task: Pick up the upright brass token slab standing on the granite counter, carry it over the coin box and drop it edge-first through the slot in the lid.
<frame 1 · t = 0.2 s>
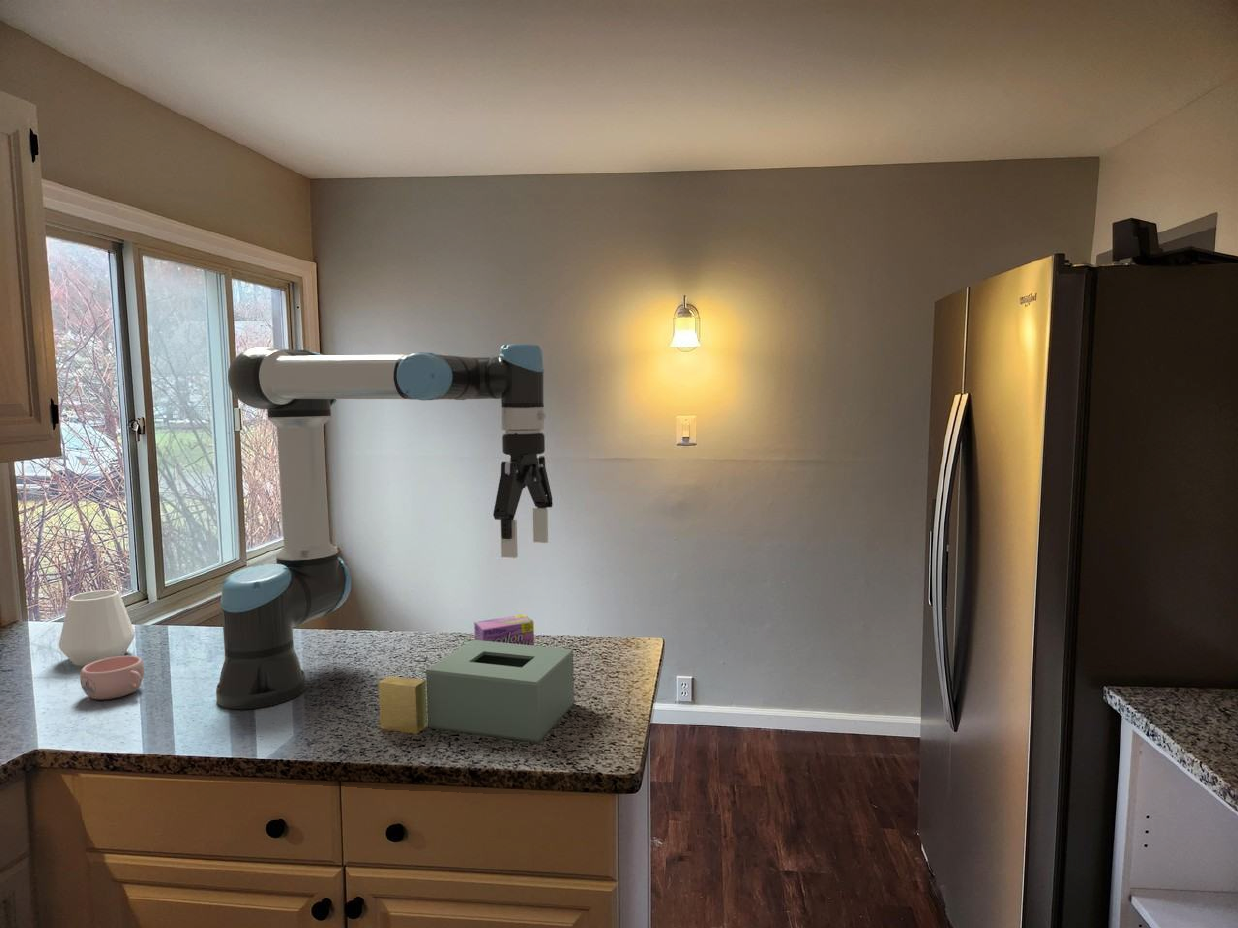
hand: (525, 549, 135), 27 cm above the counter, fingers open, 13 cm apart
box: (505, 680, 146), on the counter
cup: (99, 659, 161), on the counter
mug: (118, 695, 141), on the counter
token: (403, 727, 125), on the counter
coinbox: (503, 715, 130), on the counter
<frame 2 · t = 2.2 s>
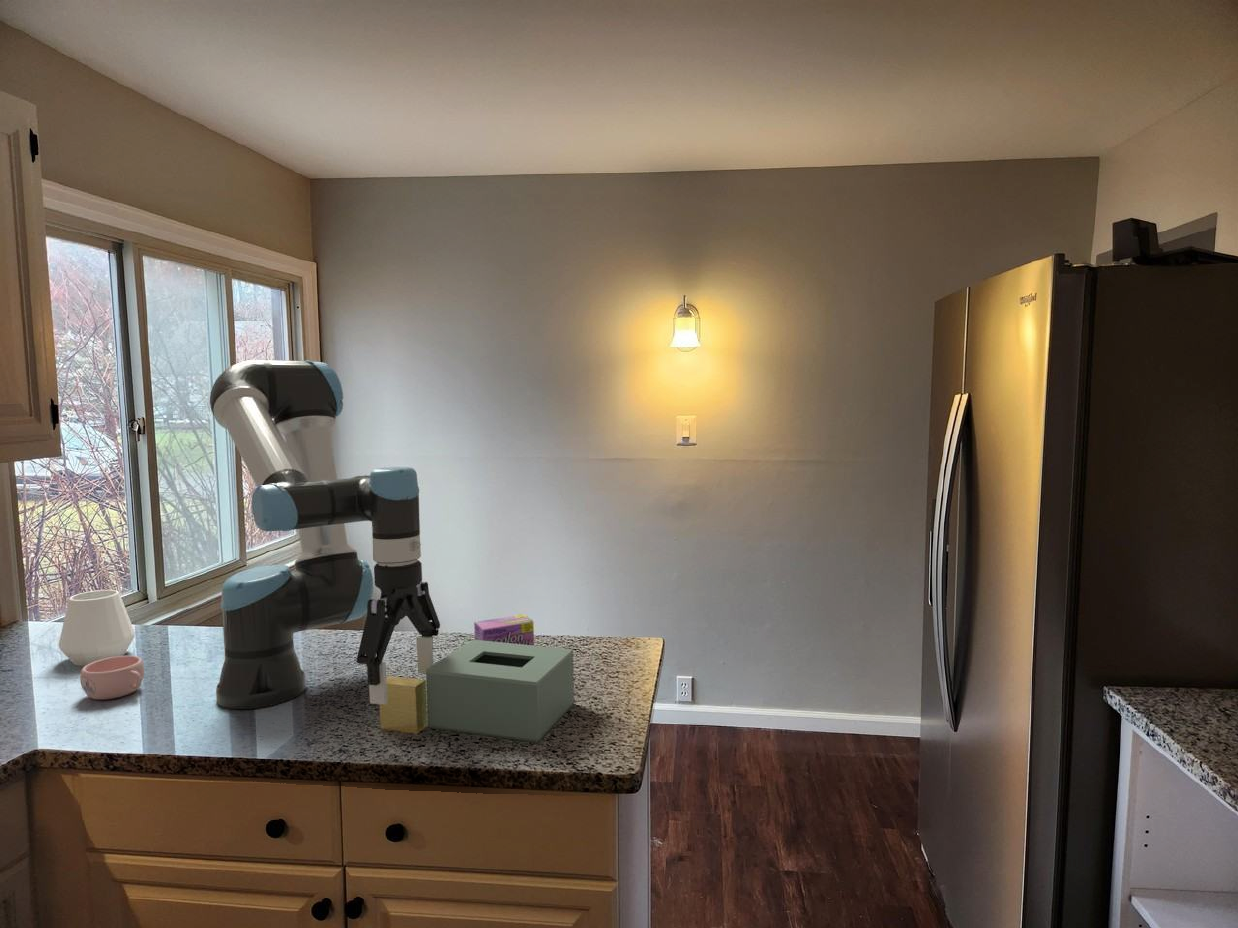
hand: (403, 687, 124), 7 cm above the counter, fingers open, 13 cm apart
nothing on the counter moved.
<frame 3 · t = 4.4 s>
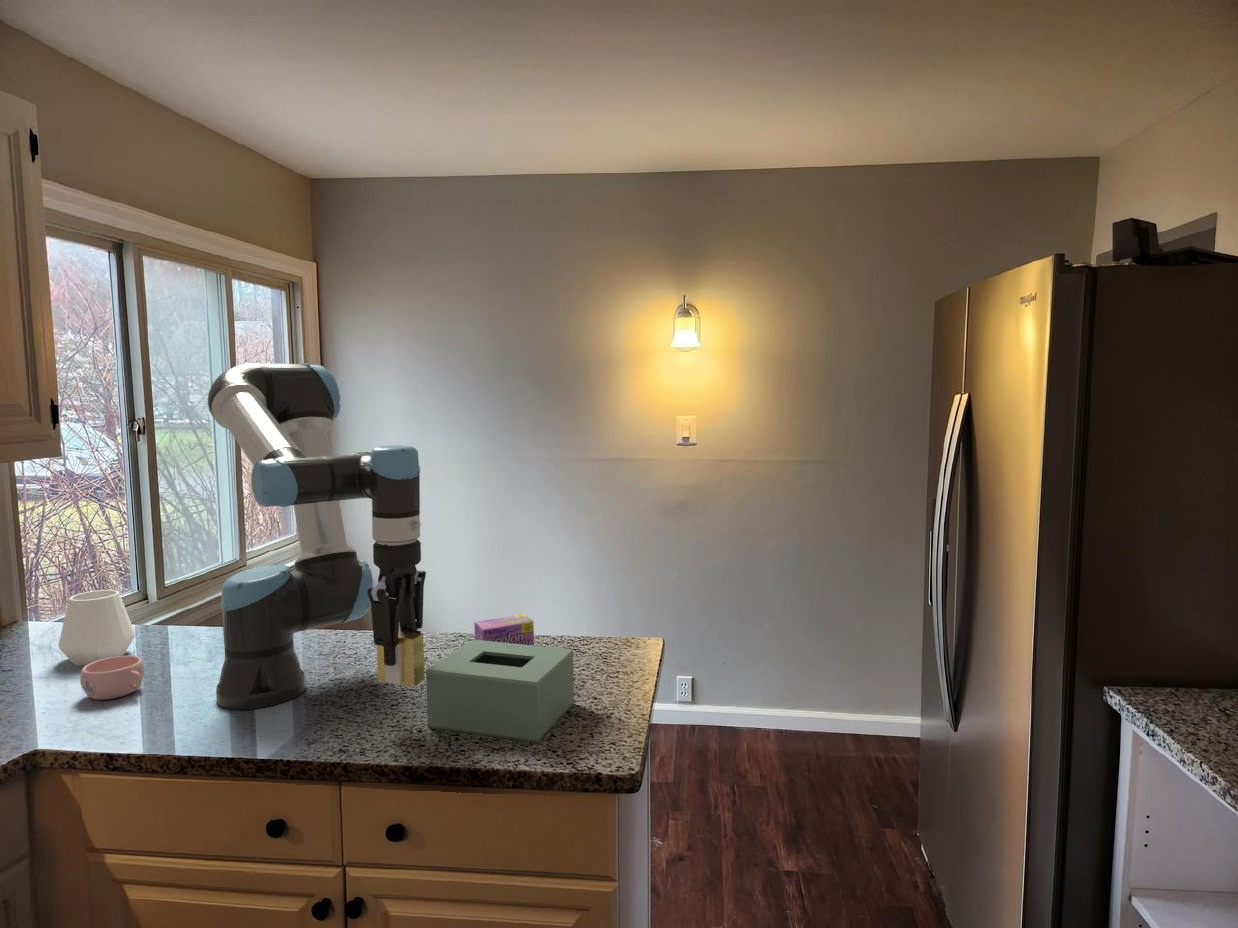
hand: (400, 677, 125), 8 cm above the counter, fingers closed on token, 3 cm apart
token: (401, 680, 125), point 8 cm above the counter, touching gripper
everything else where it was.
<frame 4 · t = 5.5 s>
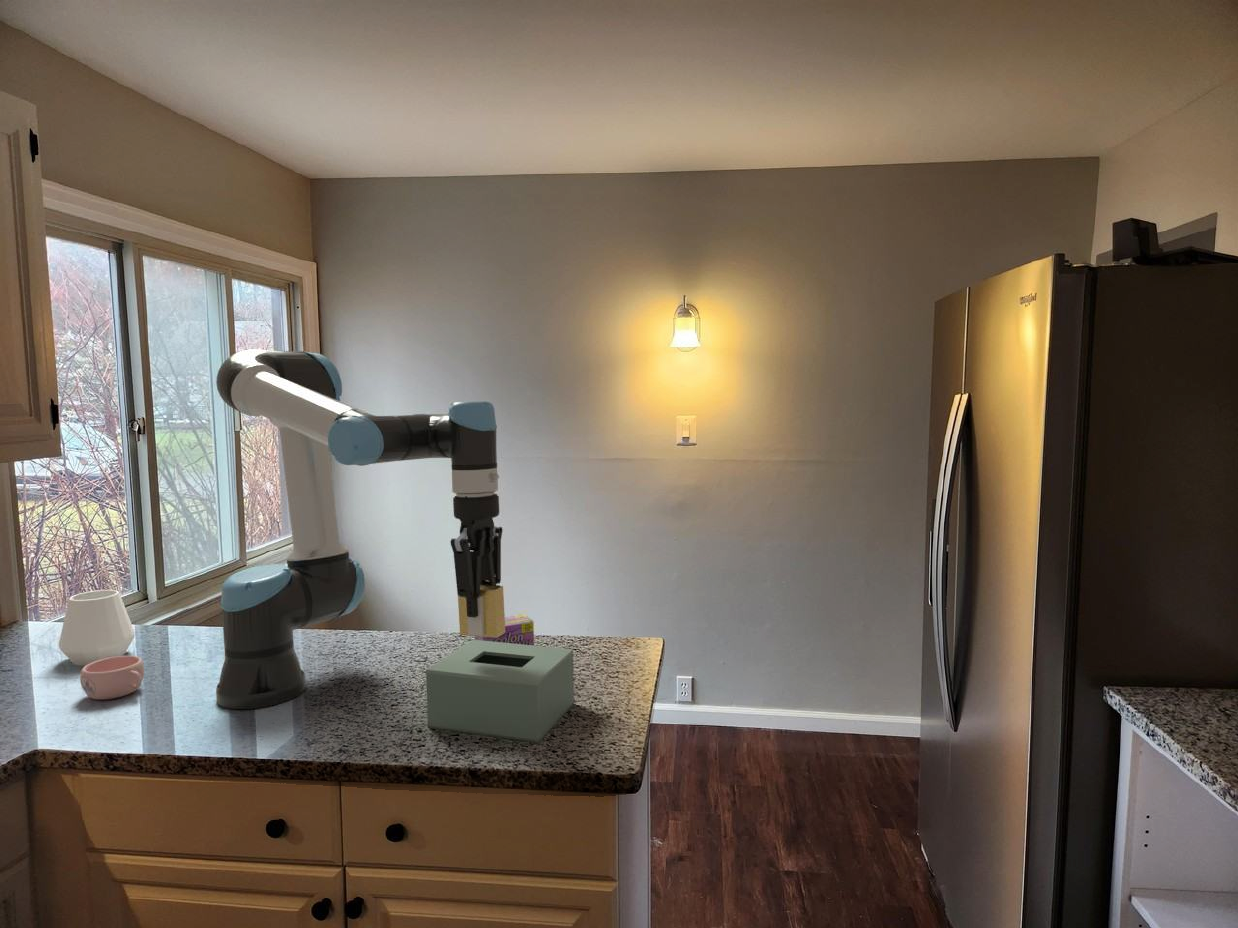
hand: (481, 631, 127), 15 cm above the counter, fingers closed on token, 3 cm apart
token: (482, 633, 127), point 15 cm above the counter, touching gripper
everything else where it was.
when the fingers open (12 cm above the counter, at t = 6.4 s): token drops 11 cm, resting on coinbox.
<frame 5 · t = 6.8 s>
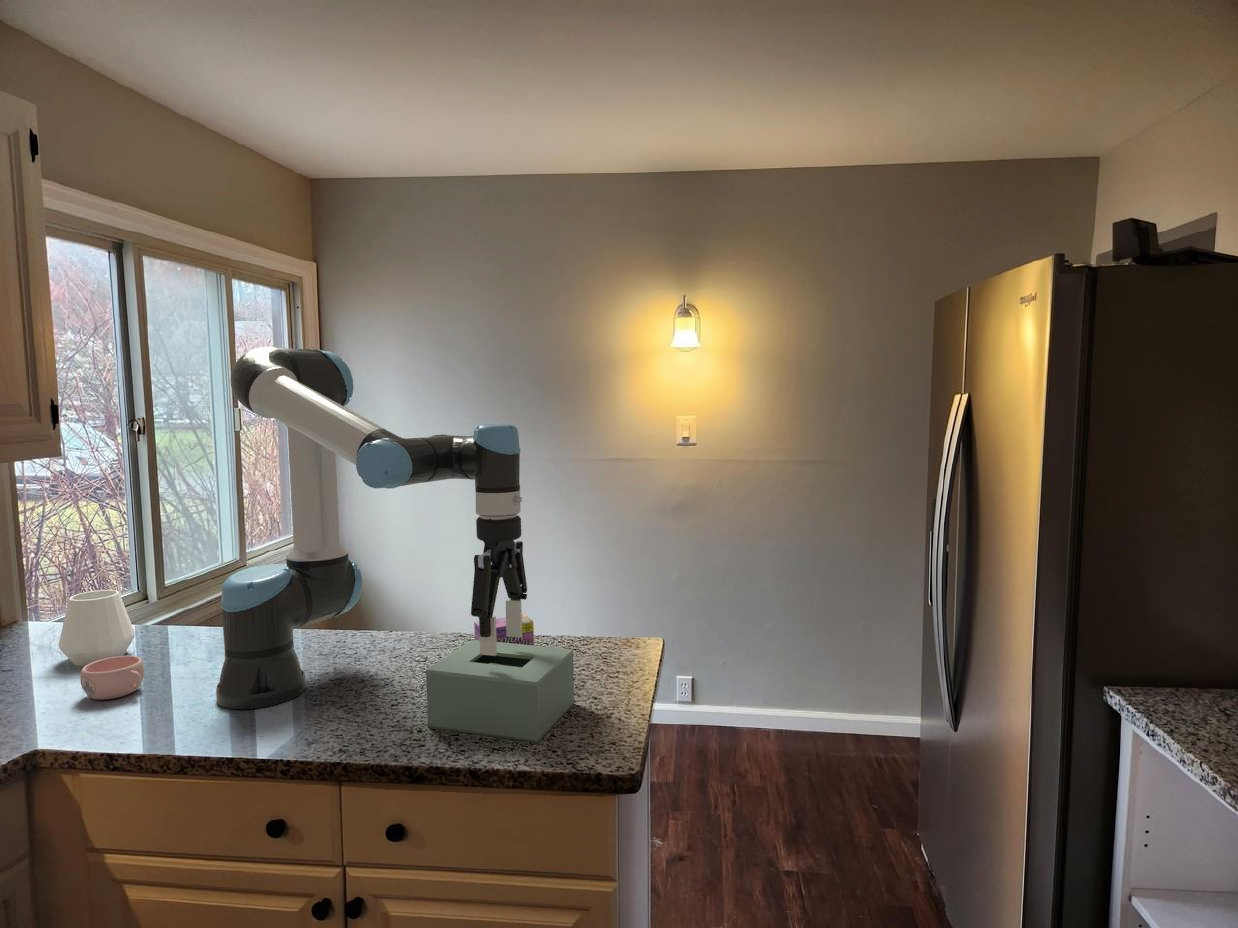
hand: (501, 644, 129), 13 cm above the counter, fingers open, 9 cm apart
token: (504, 712, 130), resting on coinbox
everything else where it was.
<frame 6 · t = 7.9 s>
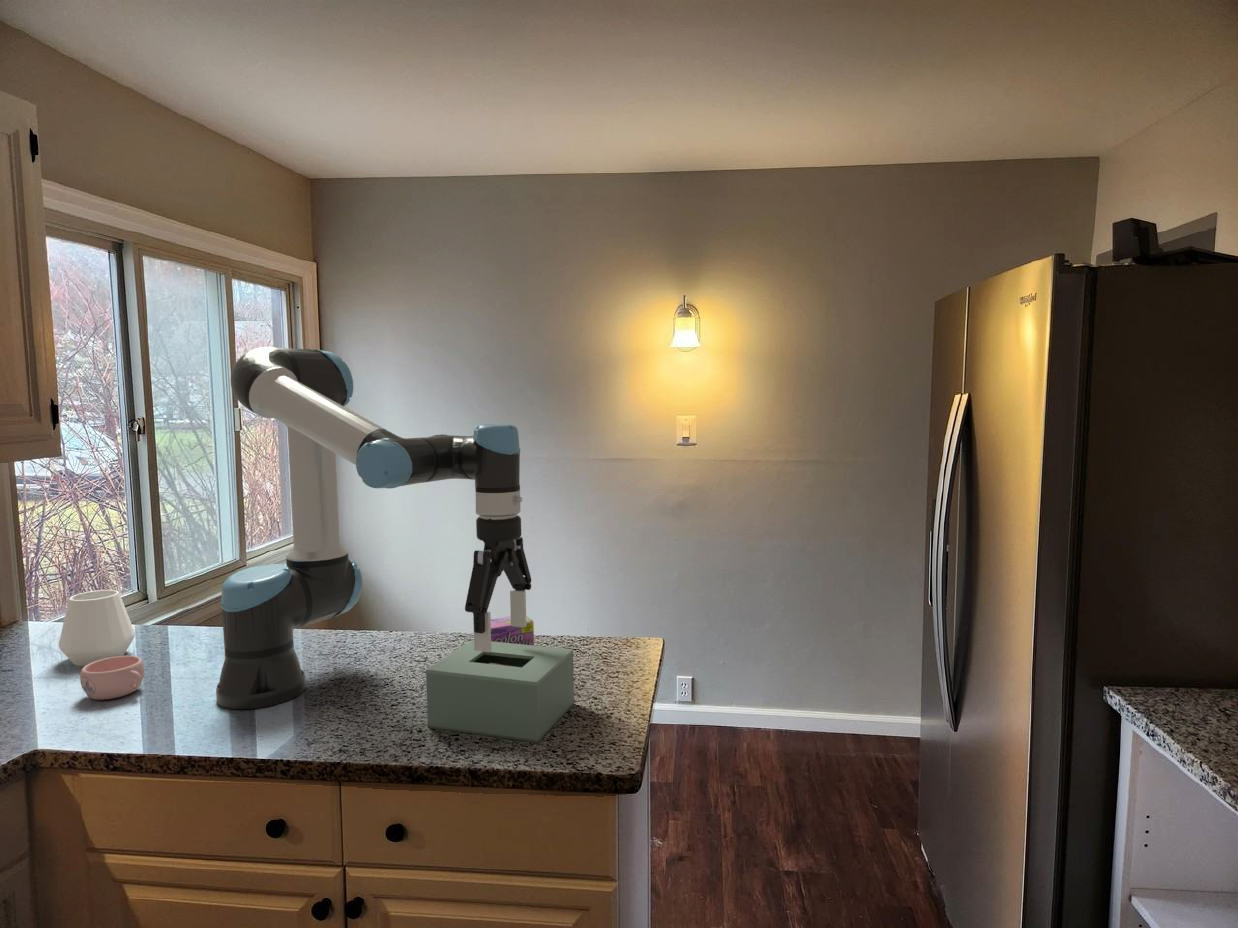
hand: (501, 638, 128), 14 cm above the counter, fingers open, 13 cm apart
nothing on the counter moved.
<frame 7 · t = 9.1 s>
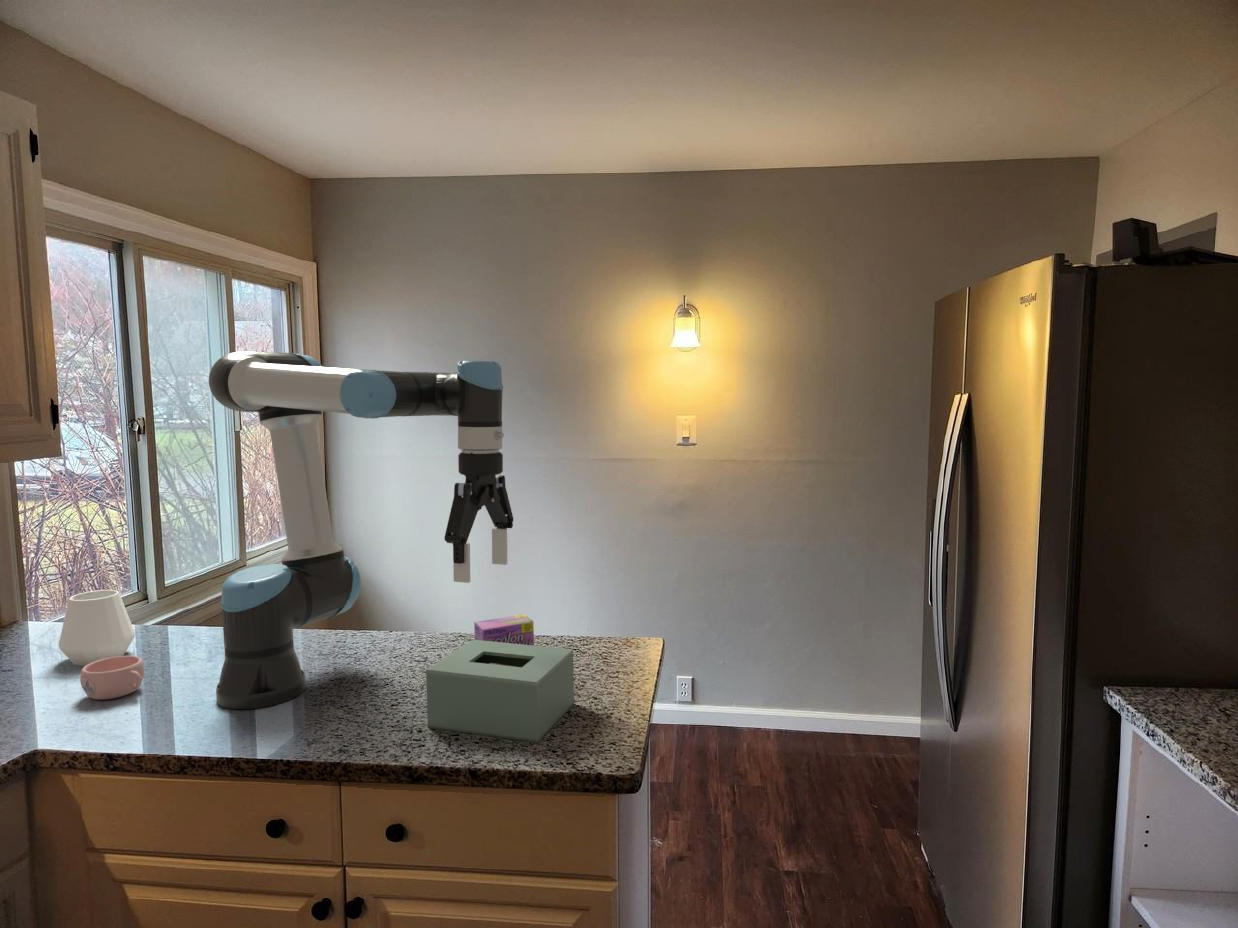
hand: (481, 572, 131), 24 cm above the counter, fingers open, 13 cm apart
nothing on the counter moved.
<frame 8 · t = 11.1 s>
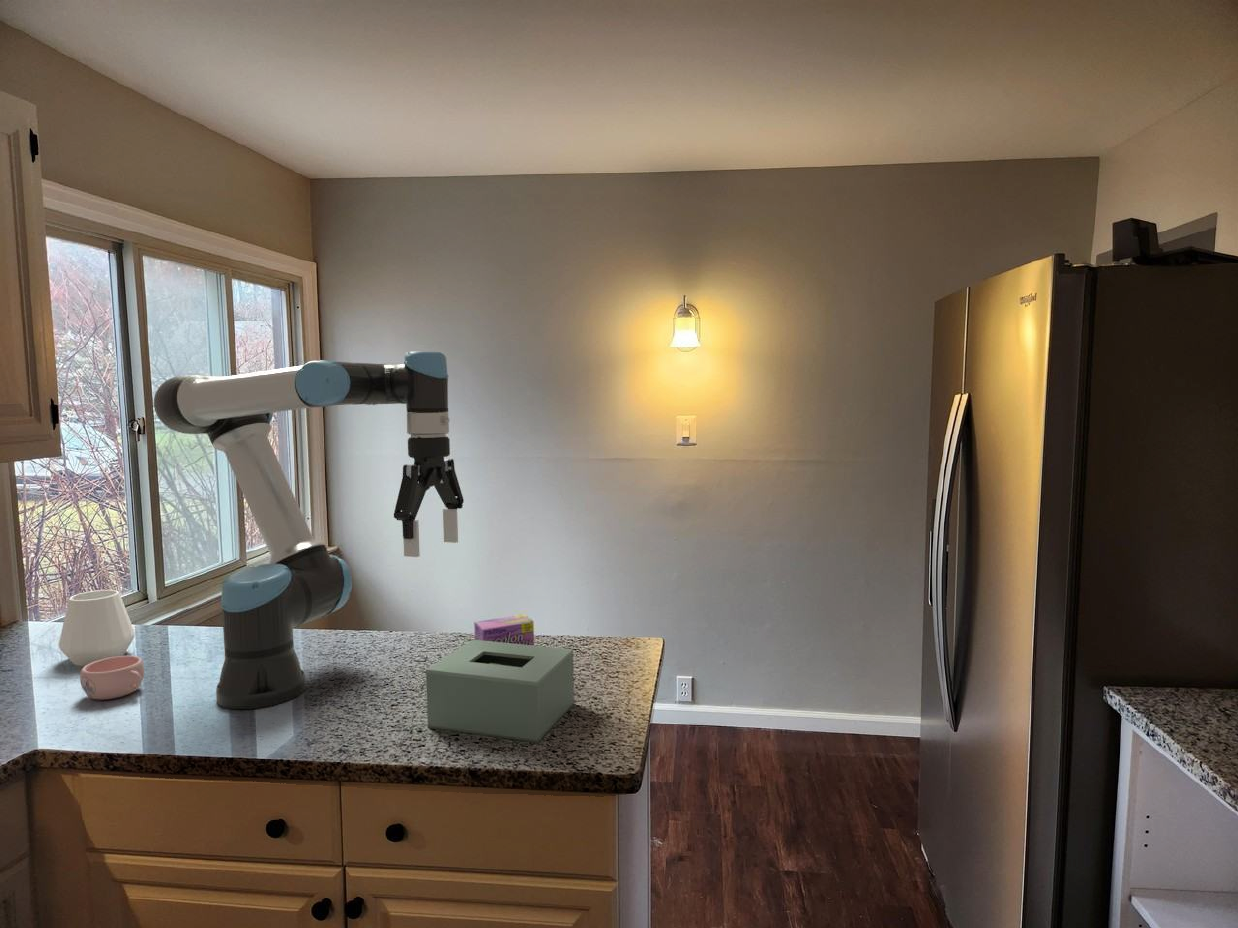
hand: (432, 549, 140), 27 cm above the counter, fingers open, 13 cm apart
nothing on the counter moved.
at the end: token inside the target area on the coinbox (0.2 cm from its centre), point 0.4 cm above the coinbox's base; the gripper is holding nothing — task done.
